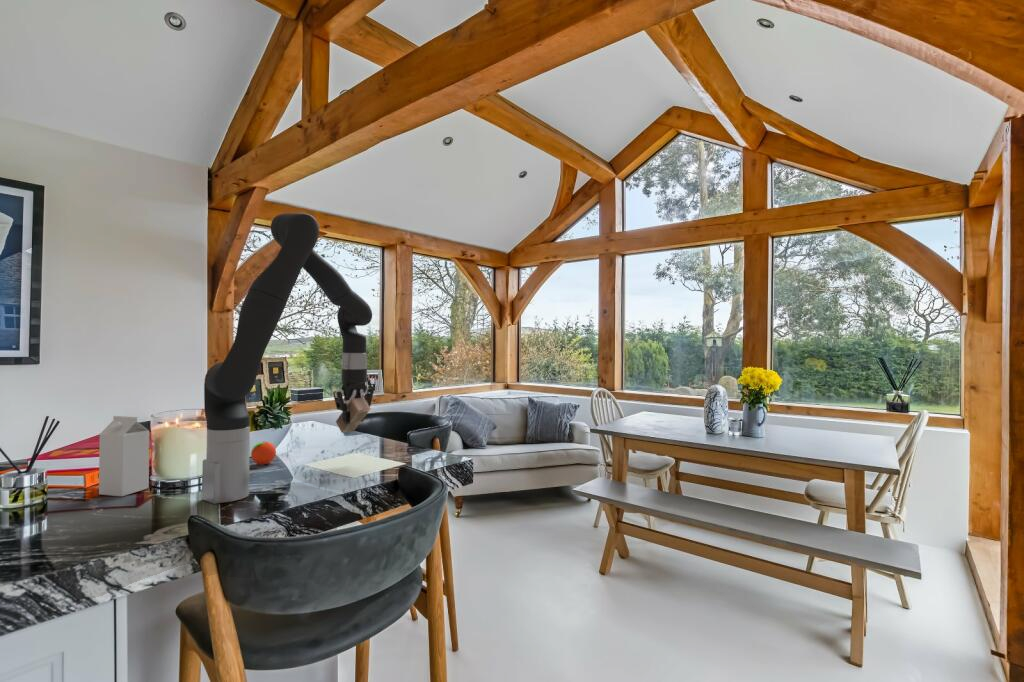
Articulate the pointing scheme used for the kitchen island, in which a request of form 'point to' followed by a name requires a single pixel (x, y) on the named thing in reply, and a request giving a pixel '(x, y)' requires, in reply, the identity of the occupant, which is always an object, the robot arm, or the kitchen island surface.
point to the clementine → (263, 453)
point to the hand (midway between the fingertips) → (353, 422)
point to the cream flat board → (354, 465)
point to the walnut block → (354, 415)
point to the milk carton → (123, 457)
